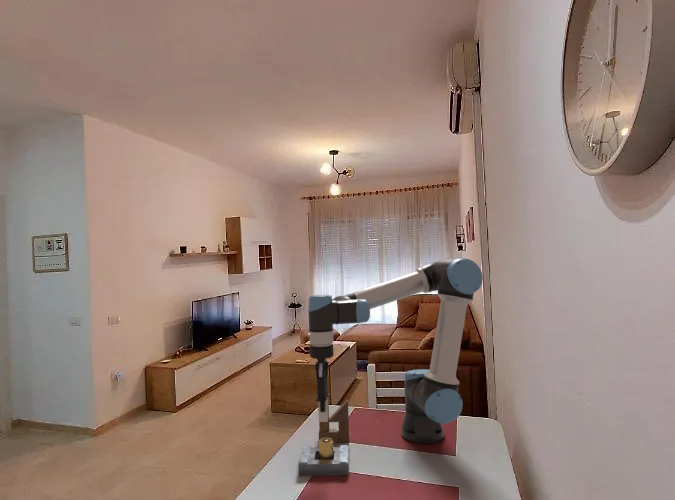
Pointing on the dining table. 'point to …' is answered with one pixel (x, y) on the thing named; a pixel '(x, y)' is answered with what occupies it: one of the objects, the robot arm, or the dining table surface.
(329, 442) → the bushing
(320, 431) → the brown wooden stand
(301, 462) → the jig
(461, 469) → the dining table surface
